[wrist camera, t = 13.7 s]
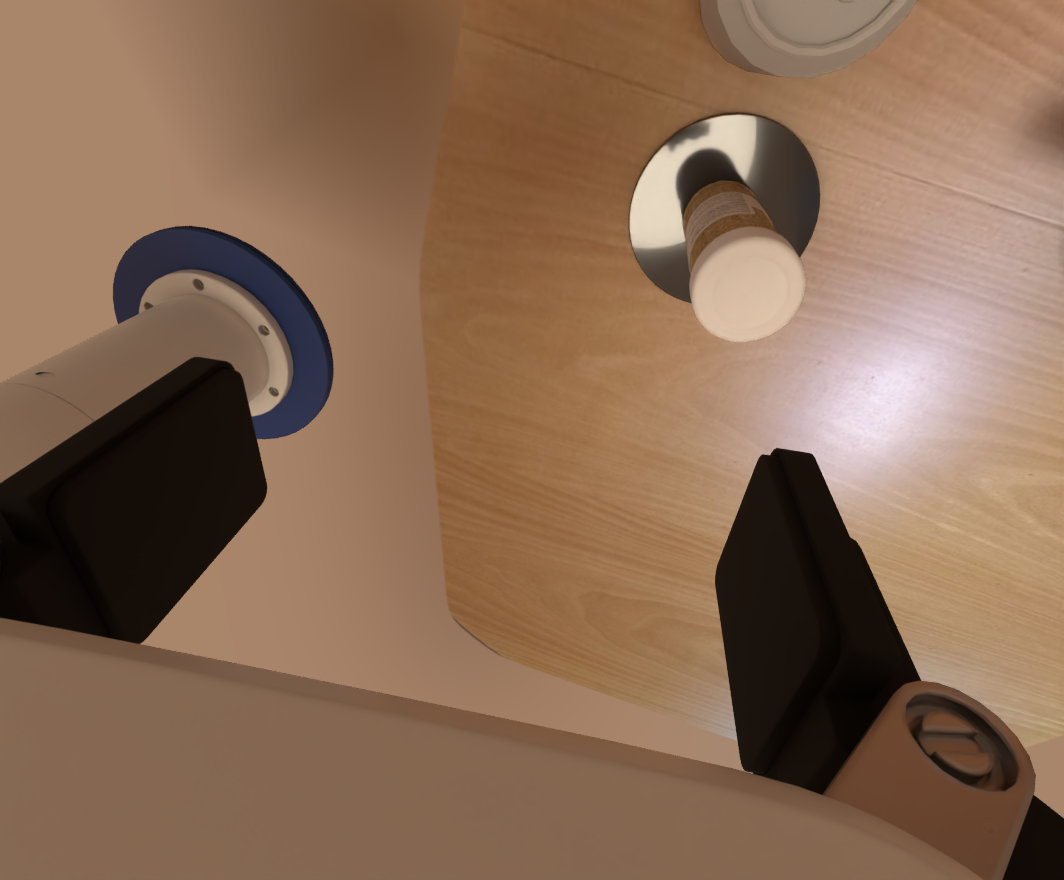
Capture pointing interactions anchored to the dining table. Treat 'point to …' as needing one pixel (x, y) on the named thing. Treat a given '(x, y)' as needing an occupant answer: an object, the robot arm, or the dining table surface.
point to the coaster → (707, 157)
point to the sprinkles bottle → (739, 265)
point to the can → (799, 32)
